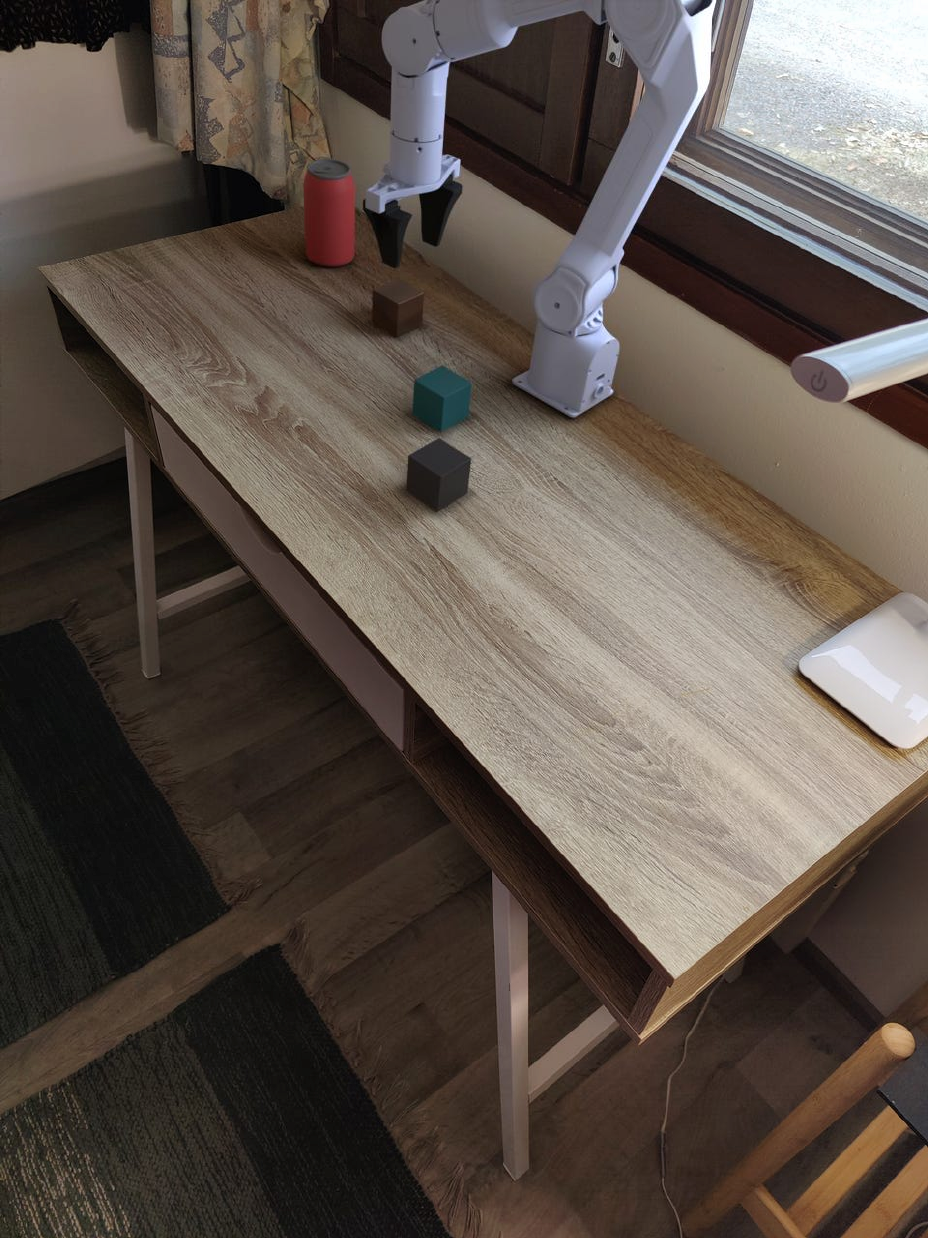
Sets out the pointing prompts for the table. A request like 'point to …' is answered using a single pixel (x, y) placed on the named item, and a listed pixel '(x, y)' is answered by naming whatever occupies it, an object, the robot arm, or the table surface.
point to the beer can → (329, 213)
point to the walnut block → (397, 307)
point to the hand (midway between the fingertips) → (411, 253)
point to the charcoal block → (438, 474)
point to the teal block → (441, 398)
